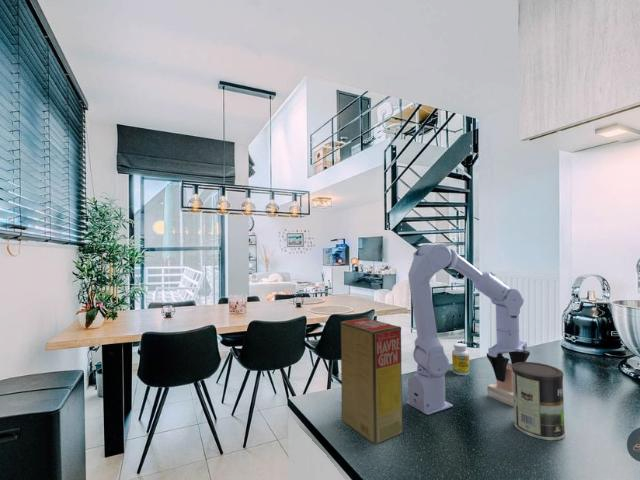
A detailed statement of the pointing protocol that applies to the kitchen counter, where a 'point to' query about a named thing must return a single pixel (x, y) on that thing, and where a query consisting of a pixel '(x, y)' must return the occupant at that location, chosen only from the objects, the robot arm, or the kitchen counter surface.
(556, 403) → the coffee can
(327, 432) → the kitchen counter surface
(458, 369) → the supplement bottle
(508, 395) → the base
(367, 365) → the food packaging
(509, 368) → the terracotta block
